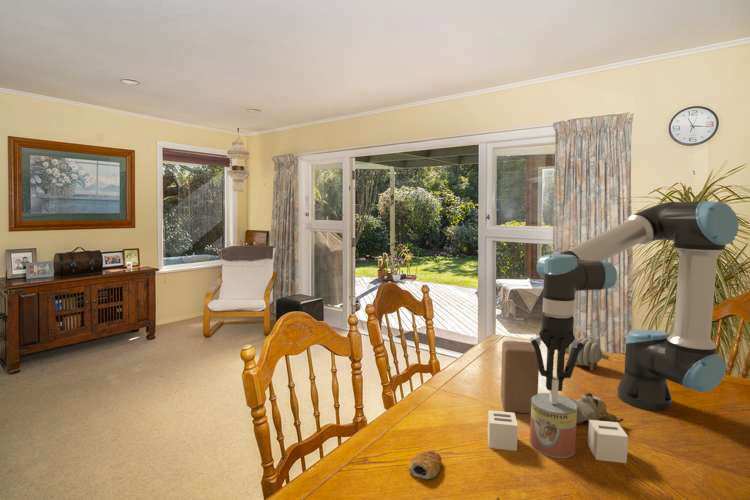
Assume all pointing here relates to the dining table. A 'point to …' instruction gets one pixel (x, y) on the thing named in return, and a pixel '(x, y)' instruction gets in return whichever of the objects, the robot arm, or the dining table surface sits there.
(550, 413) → the canned food
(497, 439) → the marked cube 1
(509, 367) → the block
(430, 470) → the pastry
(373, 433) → the dining table surface
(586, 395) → the ceramic sculpture
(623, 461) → the marked cube 2
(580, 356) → the grey armadillo figurine
